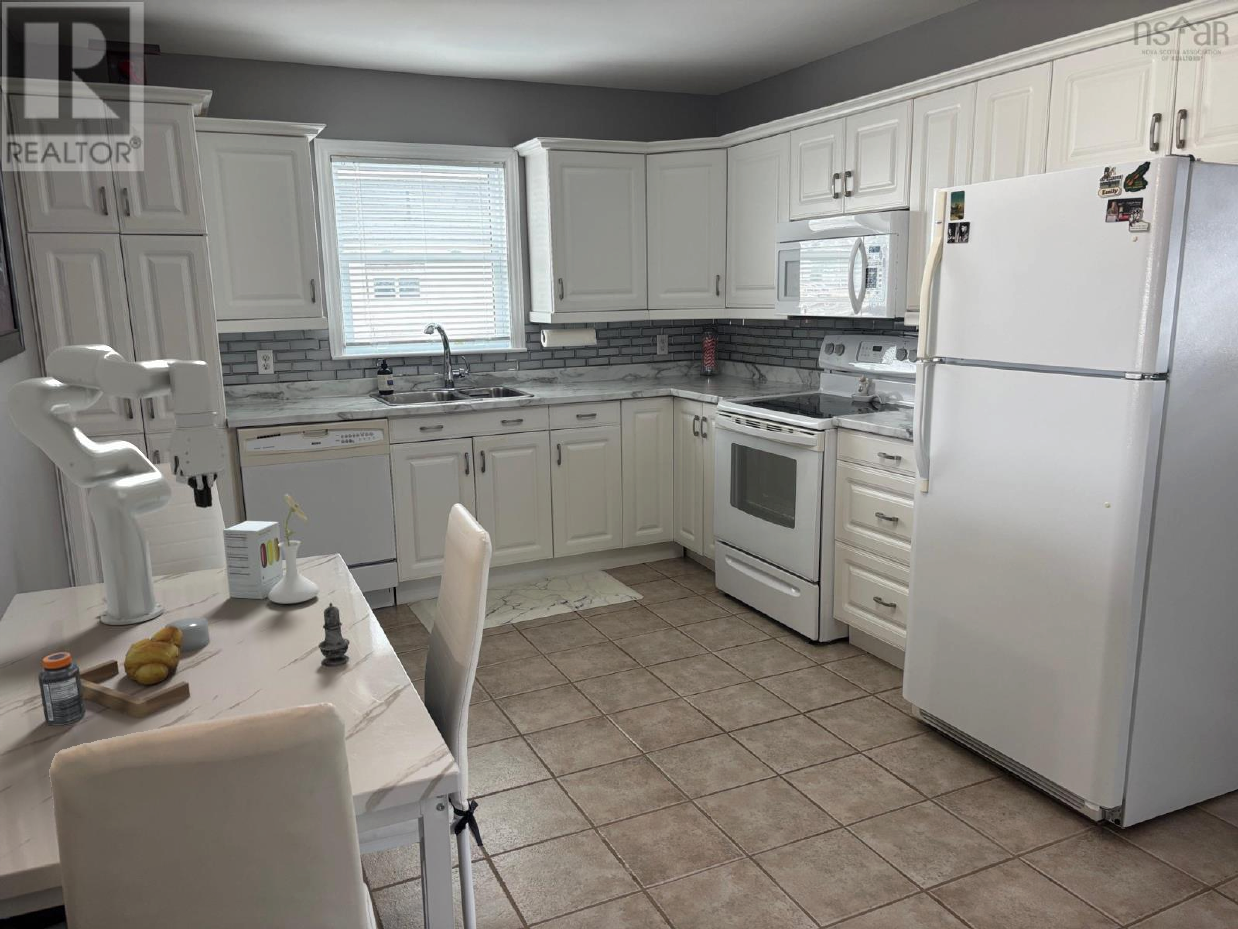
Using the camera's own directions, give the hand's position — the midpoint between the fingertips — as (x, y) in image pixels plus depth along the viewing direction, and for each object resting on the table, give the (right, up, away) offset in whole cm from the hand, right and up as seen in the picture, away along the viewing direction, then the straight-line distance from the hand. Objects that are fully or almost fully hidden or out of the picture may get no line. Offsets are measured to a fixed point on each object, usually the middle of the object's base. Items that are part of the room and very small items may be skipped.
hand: (204, 506), depth 189 cm
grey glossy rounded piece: (-1, -29, -4) cm, 29 cm away
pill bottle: (-7, -35, -36) cm, 50 cm away
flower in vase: (+11, -23, +23) cm, 34 cm away
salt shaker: (+32, -30, -14) cm, 46 cm away
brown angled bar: (-2, -33, -27) cm, 42 cm away
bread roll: (-1, -32, -19) cm, 37 cm away
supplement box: (0, -22, +28) cm, 36 cm away
